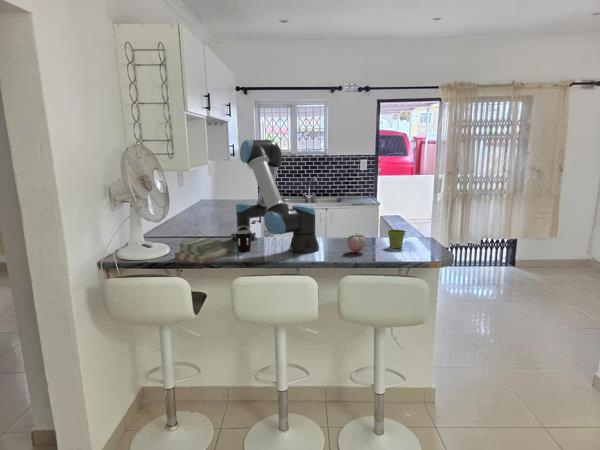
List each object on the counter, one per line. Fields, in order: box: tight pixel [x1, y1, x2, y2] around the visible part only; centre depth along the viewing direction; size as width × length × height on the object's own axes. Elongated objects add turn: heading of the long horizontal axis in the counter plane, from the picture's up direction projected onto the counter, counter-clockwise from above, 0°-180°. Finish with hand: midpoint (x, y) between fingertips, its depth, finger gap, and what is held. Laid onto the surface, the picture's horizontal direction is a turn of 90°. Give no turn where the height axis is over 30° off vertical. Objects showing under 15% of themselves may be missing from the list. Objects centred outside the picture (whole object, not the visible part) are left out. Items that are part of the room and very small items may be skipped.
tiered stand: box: [174, 237, 229, 265], centre depth 193 cm, size 18×18×8 cm
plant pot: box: [387, 228, 407, 249], centre depth 204 cm, size 9×9×9 cm
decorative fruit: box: [346, 233, 367, 254], centre depth 195 cm, size 9×8×10 cm
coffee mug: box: [234, 230, 253, 253], centre depth 202 cm, size 12×9×10 cm
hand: (243, 242), depth 196 cm, fingers open, 3 cm apart
